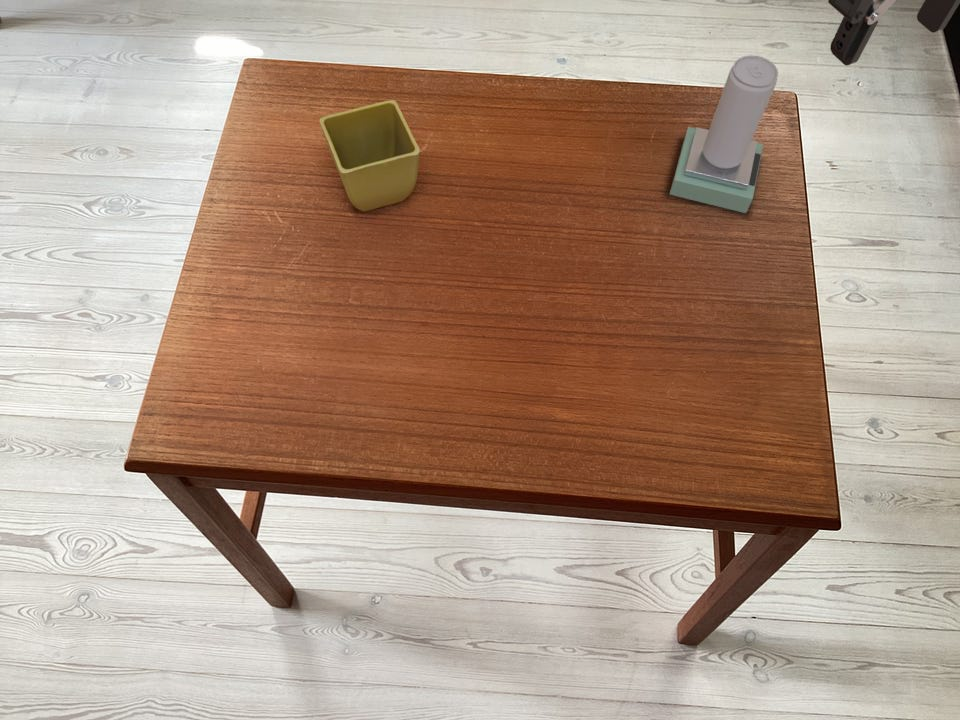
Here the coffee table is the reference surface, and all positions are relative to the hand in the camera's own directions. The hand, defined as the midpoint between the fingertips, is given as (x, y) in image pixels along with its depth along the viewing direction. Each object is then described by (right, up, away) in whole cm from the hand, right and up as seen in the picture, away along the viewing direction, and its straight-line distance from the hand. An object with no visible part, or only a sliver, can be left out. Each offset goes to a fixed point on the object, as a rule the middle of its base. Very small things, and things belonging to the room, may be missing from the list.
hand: (886, 41), depth 58 cm
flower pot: (-43, -5, +32) cm, 53 cm away
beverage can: (-3, -1, +30) cm, 31 cm away
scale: (-3, -2, +33) cm, 34 cm away
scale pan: (-3, -1, +31) cm, 31 cm away
